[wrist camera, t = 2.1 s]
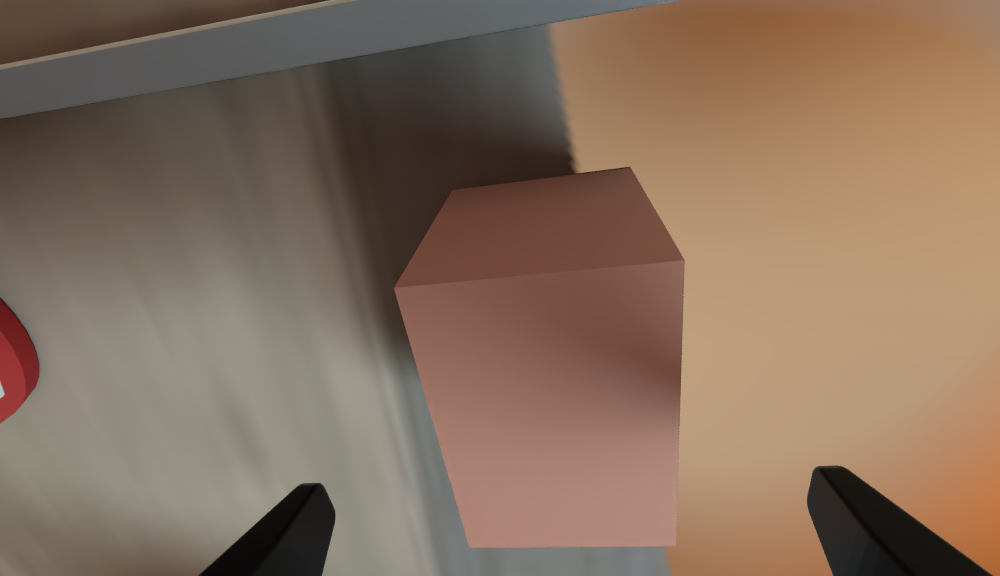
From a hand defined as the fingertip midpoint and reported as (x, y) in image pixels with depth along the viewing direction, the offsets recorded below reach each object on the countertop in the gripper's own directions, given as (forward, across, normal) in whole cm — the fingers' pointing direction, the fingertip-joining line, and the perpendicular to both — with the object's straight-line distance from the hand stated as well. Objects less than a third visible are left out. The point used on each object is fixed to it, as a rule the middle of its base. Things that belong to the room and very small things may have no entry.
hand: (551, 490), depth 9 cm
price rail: (+7, +10, -8) cm, 15 cm away
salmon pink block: (+7, 0, 0) cm, 7 cm away
